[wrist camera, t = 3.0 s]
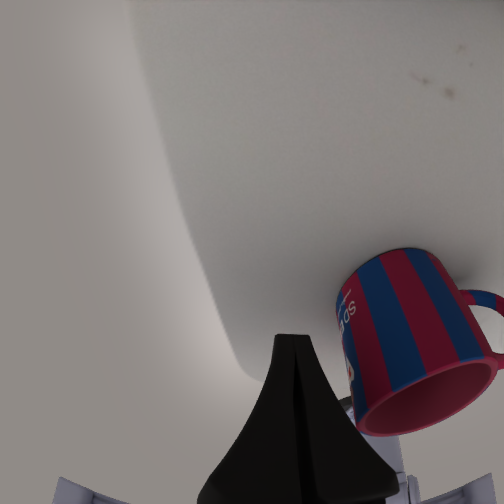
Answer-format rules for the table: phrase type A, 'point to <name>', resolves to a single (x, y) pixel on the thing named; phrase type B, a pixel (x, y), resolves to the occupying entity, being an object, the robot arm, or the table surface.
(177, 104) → the table surface
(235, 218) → the table surface
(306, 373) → the robot arm
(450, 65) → the table surface
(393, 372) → the cup
